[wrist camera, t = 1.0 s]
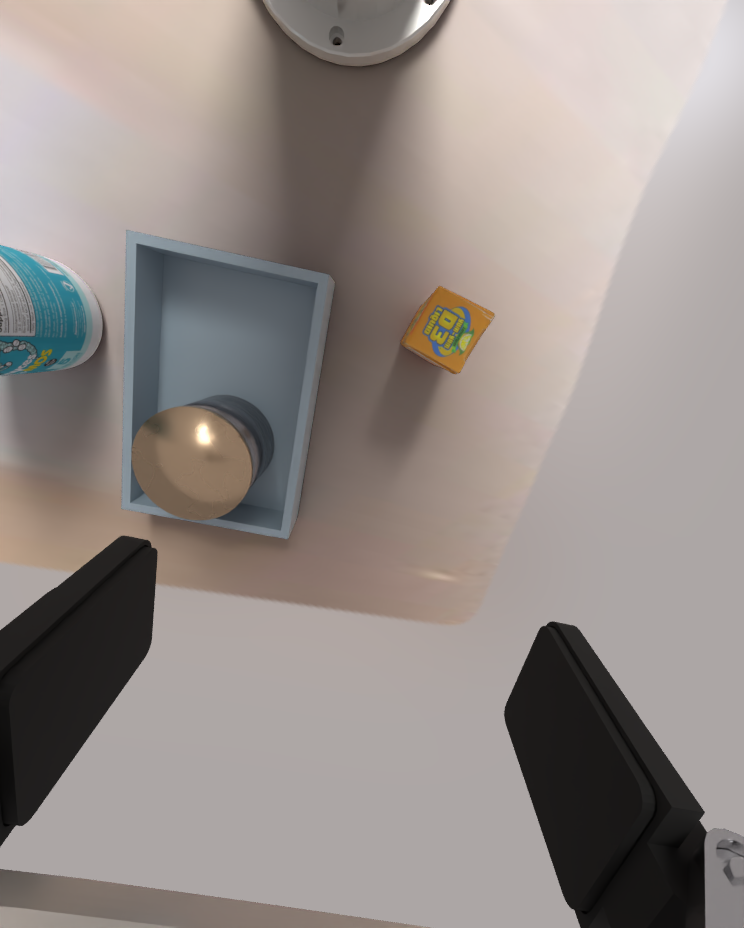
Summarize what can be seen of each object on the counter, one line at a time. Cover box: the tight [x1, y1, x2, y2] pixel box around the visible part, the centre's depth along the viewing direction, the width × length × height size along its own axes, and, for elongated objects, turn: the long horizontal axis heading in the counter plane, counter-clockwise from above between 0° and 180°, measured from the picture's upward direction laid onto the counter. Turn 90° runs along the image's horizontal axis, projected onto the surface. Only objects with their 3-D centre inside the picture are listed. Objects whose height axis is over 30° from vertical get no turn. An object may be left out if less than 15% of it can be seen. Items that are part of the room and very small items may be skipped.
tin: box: [131, 395, 275, 520], centre depth 27 cm, size 7×7×6 cm
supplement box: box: [400, 286, 495, 374], centre depth 23 cm, size 3×3×10 cm
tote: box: [121, 230, 335, 539], centre depth 28 cm, size 18×12×4 cm, turn 168°
